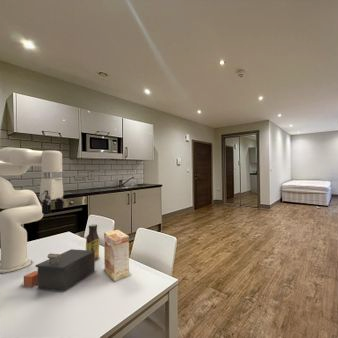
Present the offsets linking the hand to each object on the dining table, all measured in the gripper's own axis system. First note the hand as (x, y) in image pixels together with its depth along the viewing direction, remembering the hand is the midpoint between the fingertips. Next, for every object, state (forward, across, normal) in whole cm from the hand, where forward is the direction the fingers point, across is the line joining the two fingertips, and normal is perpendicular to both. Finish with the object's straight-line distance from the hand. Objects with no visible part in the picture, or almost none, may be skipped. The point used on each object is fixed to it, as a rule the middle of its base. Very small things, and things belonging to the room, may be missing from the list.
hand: (53, 211), depth 93 cm
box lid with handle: (+22, +6, +8) cm, 24 cm away
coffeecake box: (+32, +4, +28) cm, 43 cm away
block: (+32, +5, -6) cm, 33 cm away
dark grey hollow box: (+32, +5, +8) cm, 33 cm away
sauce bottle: (+32, -14, +11) cm, 37 cm away
